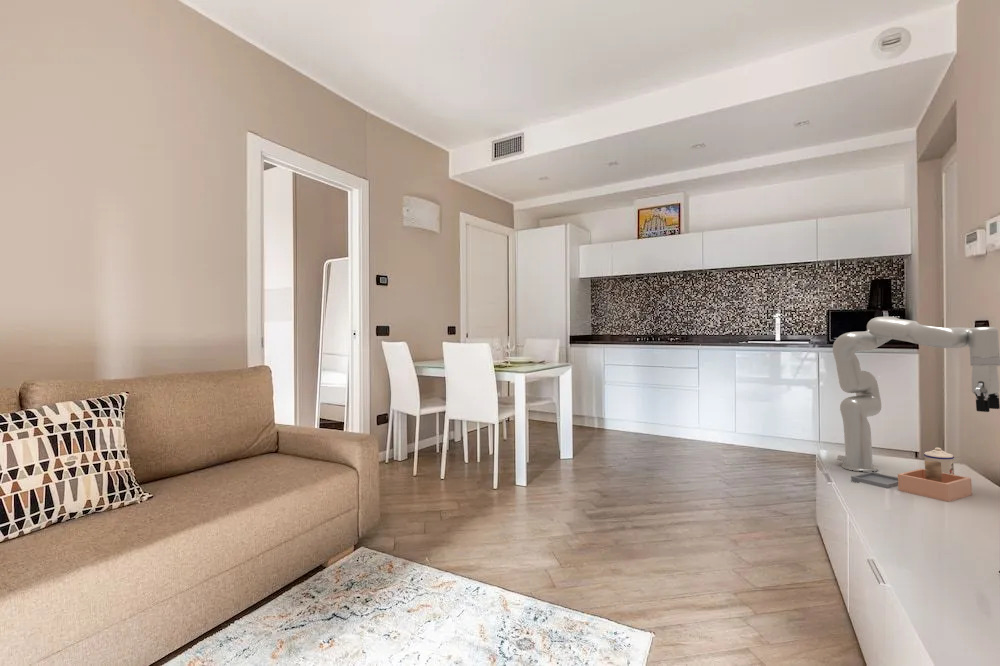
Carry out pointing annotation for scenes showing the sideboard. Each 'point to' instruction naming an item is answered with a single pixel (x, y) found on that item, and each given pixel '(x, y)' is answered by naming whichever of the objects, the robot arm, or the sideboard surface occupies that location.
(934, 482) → the terracotta open box
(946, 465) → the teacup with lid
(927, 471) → the walnut dowel
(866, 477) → the grey tray
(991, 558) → the sideboard surface
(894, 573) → the sideboard surface
